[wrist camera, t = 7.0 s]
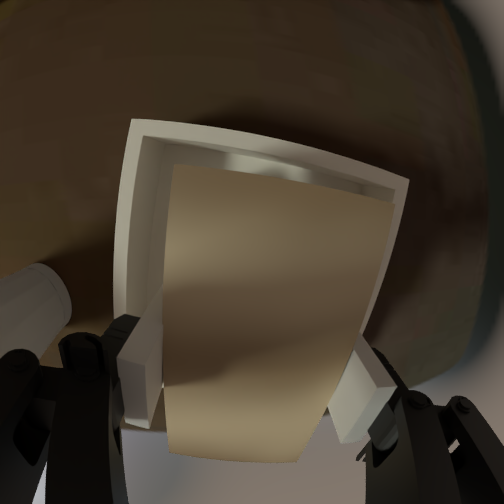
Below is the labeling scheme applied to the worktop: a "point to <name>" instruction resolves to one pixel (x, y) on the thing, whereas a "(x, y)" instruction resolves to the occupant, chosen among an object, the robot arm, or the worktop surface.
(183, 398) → the beige rectangular block
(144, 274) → the white open box
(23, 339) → the cup
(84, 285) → the worktop surface
